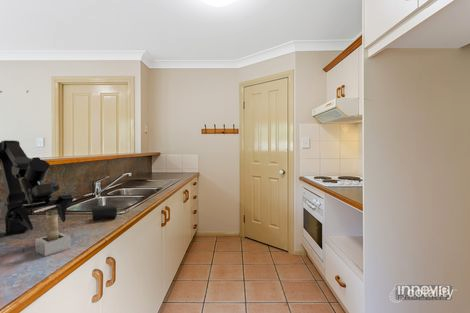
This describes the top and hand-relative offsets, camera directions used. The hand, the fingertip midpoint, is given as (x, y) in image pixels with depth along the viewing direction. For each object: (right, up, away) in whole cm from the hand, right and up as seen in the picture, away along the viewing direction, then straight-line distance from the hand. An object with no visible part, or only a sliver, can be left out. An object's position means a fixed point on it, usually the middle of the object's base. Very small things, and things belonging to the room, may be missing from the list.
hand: (48, 225), depth 82 cm
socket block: (+2, -8, -1) cm, 8 cm away
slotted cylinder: (+2, -8, -1) cm, 8 cm away
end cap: (+1, -7, +33) cm, 34 cm away
